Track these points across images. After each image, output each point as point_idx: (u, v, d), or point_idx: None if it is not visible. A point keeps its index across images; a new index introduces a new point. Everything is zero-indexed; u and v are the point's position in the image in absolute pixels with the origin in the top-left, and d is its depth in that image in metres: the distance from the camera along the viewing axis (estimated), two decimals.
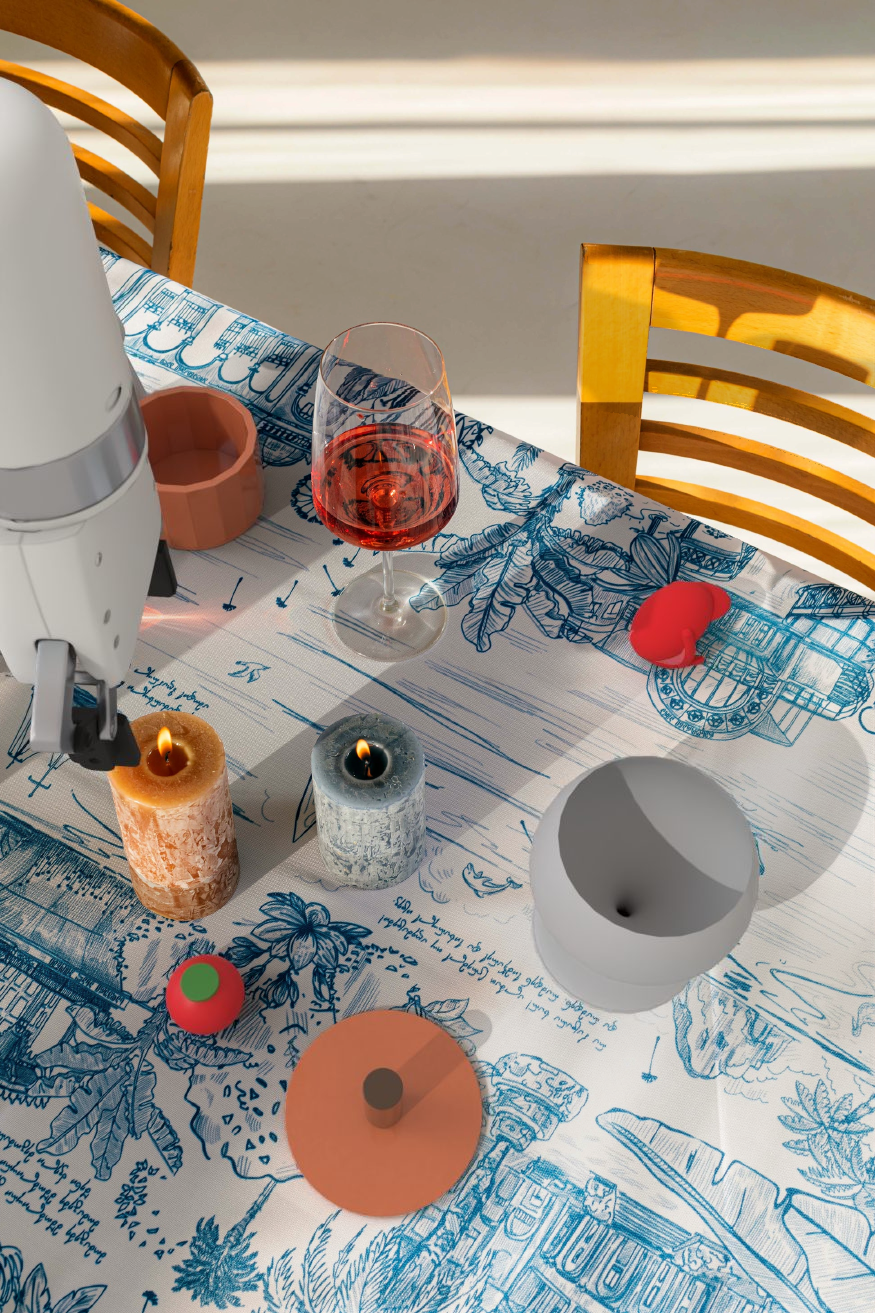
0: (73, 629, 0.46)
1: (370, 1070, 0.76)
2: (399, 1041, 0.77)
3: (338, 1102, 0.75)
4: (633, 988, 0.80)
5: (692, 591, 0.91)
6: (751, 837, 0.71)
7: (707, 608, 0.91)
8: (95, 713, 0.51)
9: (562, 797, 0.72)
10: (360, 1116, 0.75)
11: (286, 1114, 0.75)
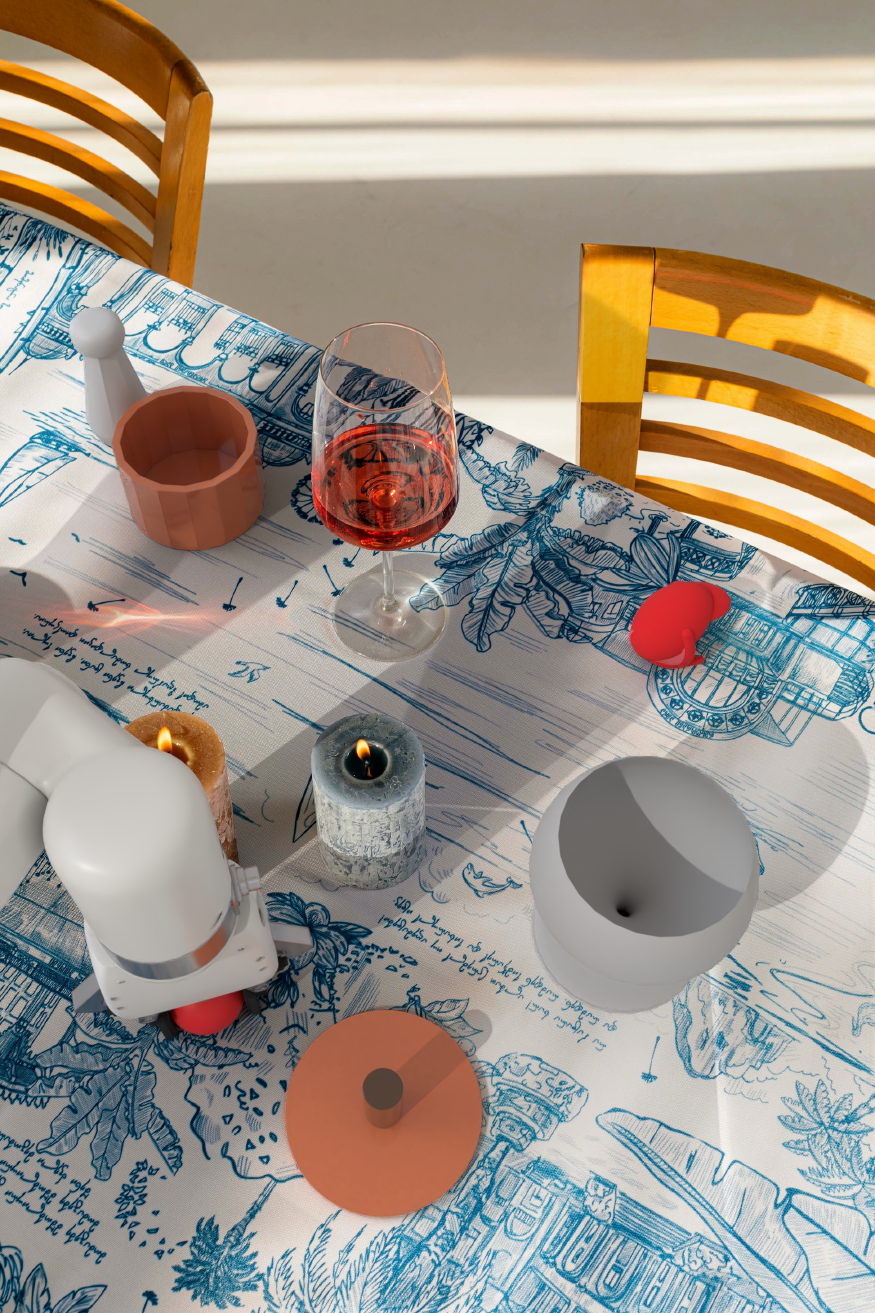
0: None
1: (370, 1070, 0.76)
2: (399, 1041, 0.77)
3: (338, 1102, 0.75)
4: (633, 988, 0.80)
5: (692, 591, 0.91)
6: (751, 837, 0.71)
7: (707, 608, 0.91)
8: None
9: (562, 797, 0.72)
10: (360, 1116, 0.75)
11: (286, 1114, 0.75)
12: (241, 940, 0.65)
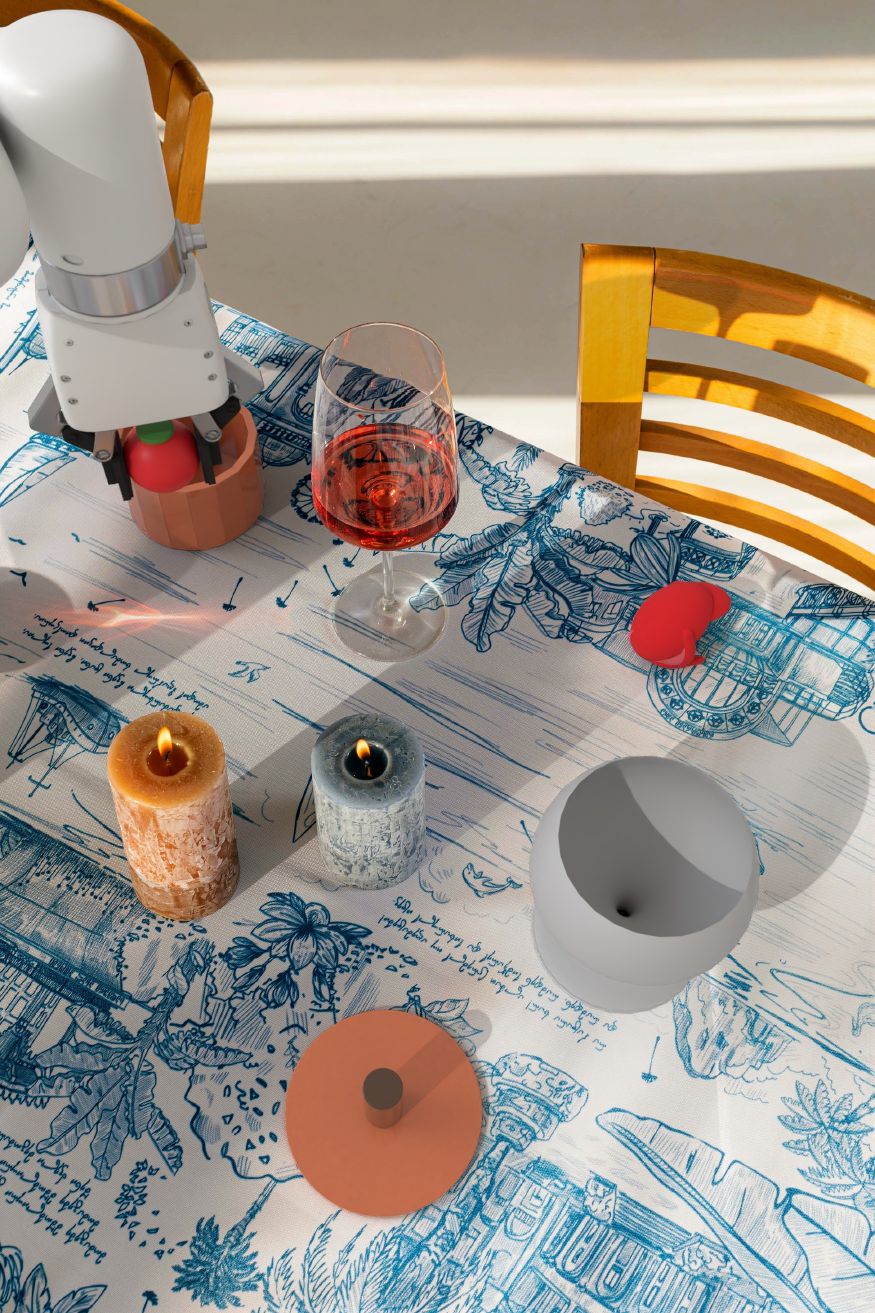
0: (49, 366, 0.69)
1: (370, 1070, 0.76)
2: (399, 1041, 0.77)
3: (338, 1102, 0.75)
4: (633, 988, 0.80)
5: (692, 591, 0.91)
6: (751, 837, 0.71)
7: (707, 608, 0.91)
8: None
9: (562, 797, 0.72)
10: (360, 1116, 0.75)
11: (286, 1114, 0.75)
12: (187, 307, 0.67)
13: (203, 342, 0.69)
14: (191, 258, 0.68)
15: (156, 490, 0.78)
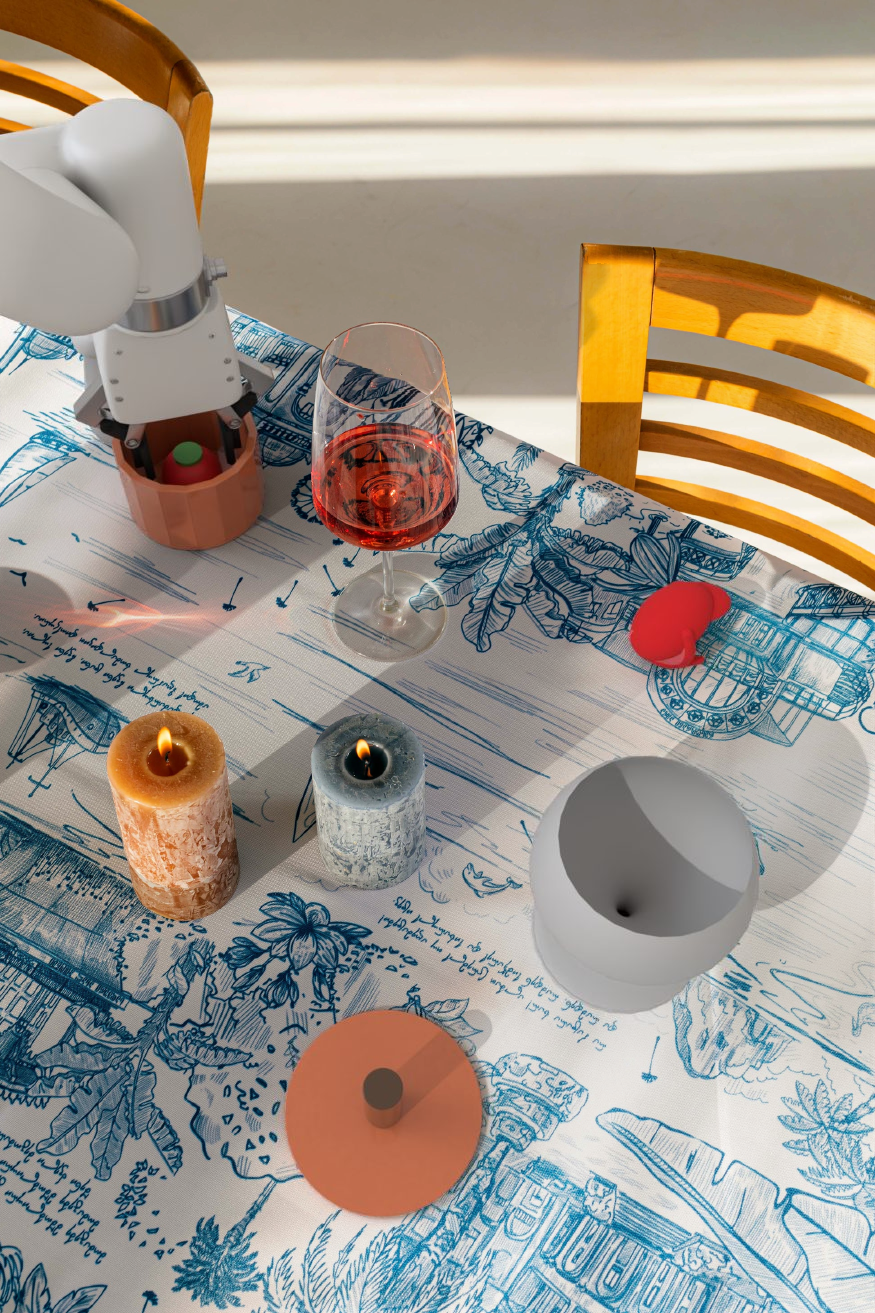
0: (100, 371, 0.87)
1: (370, 1070, 0.76)
2: (399, 1041, 0.77)
3: (338, 1102, 0.75)
4: (633, 988, 0.80)
5: (692, 591, 0.91)
6: (751, 837, 0.71)
7: (707, 608, 0.91)
8: None
9: (562, 797, 0.72)
10: (360, 1116, 0.75)
11: (286, 1114, 0.75)
12: (211, 323, 0.85)
13: (223, 351, 0.87)
14: (214, 284, 0.85)
15: None
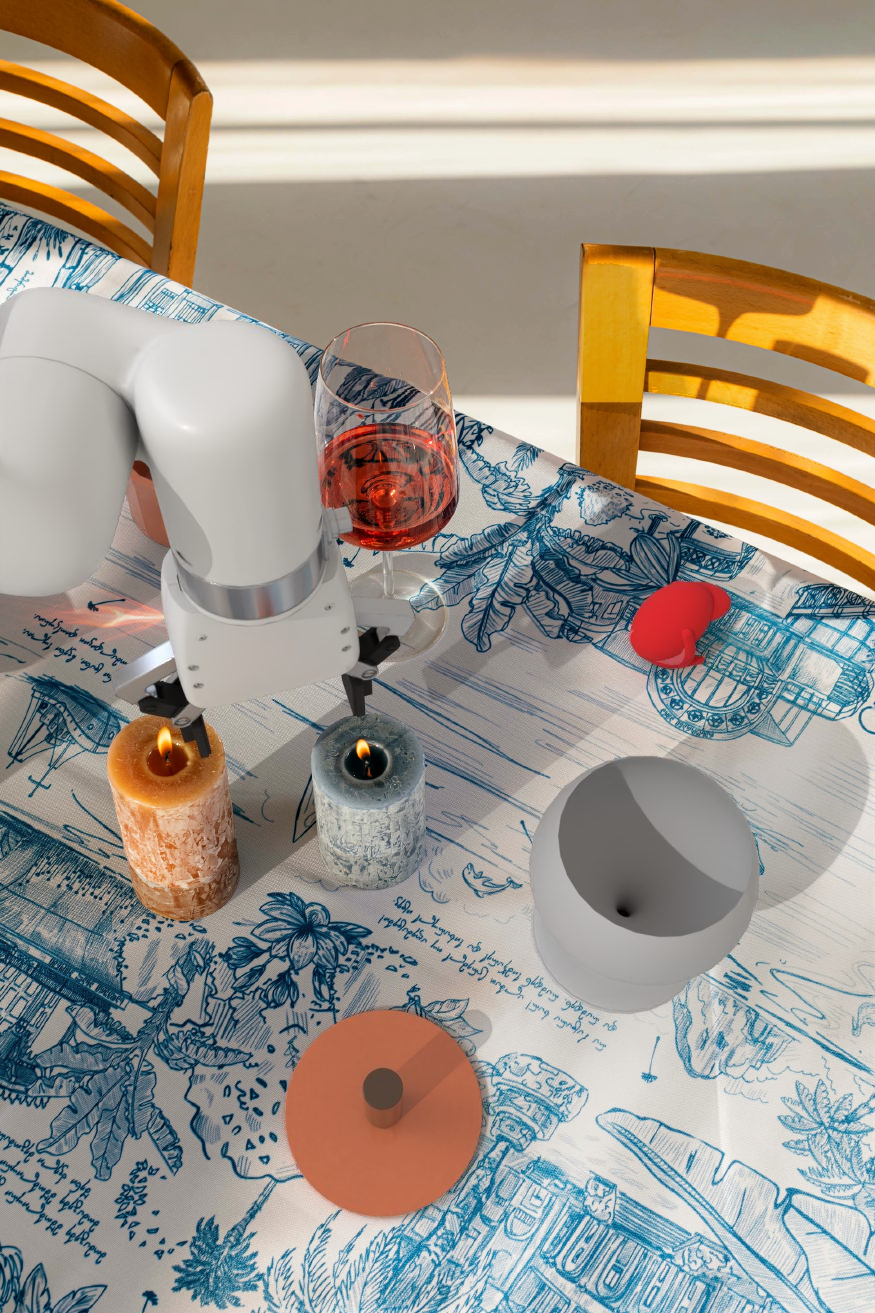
0: (174, 653, 0.63)
1: (370, 1070, 0.76)
2: (399, 1041, 0.77)
3: (338, 1102, 0.75)
4: (633, 988, 0.80)
5: (692, 591, 0.91)
6: (751, 837, 0.71)
7: (707, 608, 0.91)
8: None
9: (562, 797, 0.72)
10: (360, 1116, 0.75)
11: (286, 1114, 0.75)
12: (329, 593, 0.61)
13: (341, 620, 0.64)
14: None
15: None
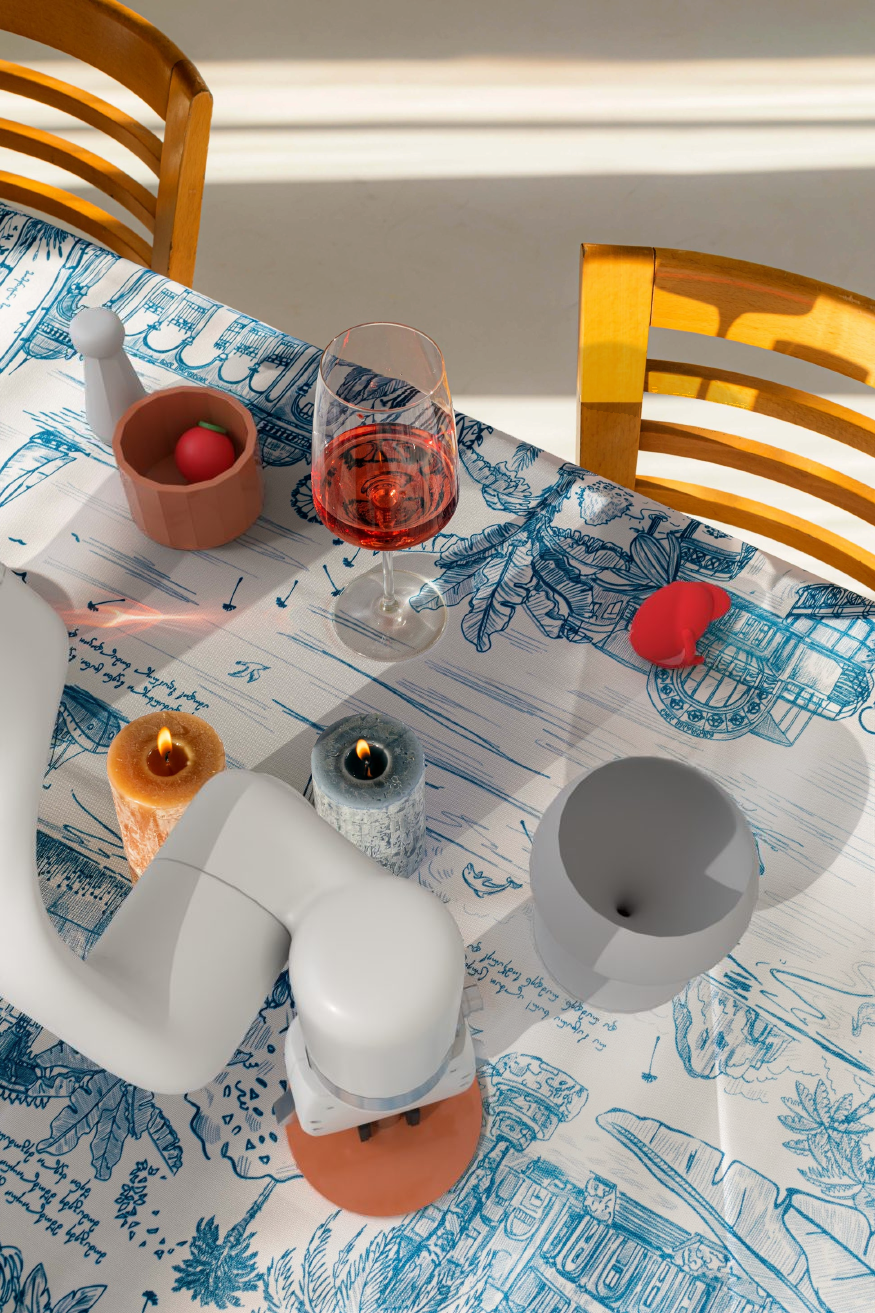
0: (296, 1104, 0.63)
1: None
2: None
3: None
4: (633, 988, 0.80)
5: (692, 591, 0.91)
6: (751, 837, 0.71)
7: (707, 608, 0.91)
8: None
9: (562, 797, 0.72)
10: None
11: None
12: (456, 1063, 0.61)
13: (464, 1073, 0.63)
14: None
15: (199, 466, 0.99)
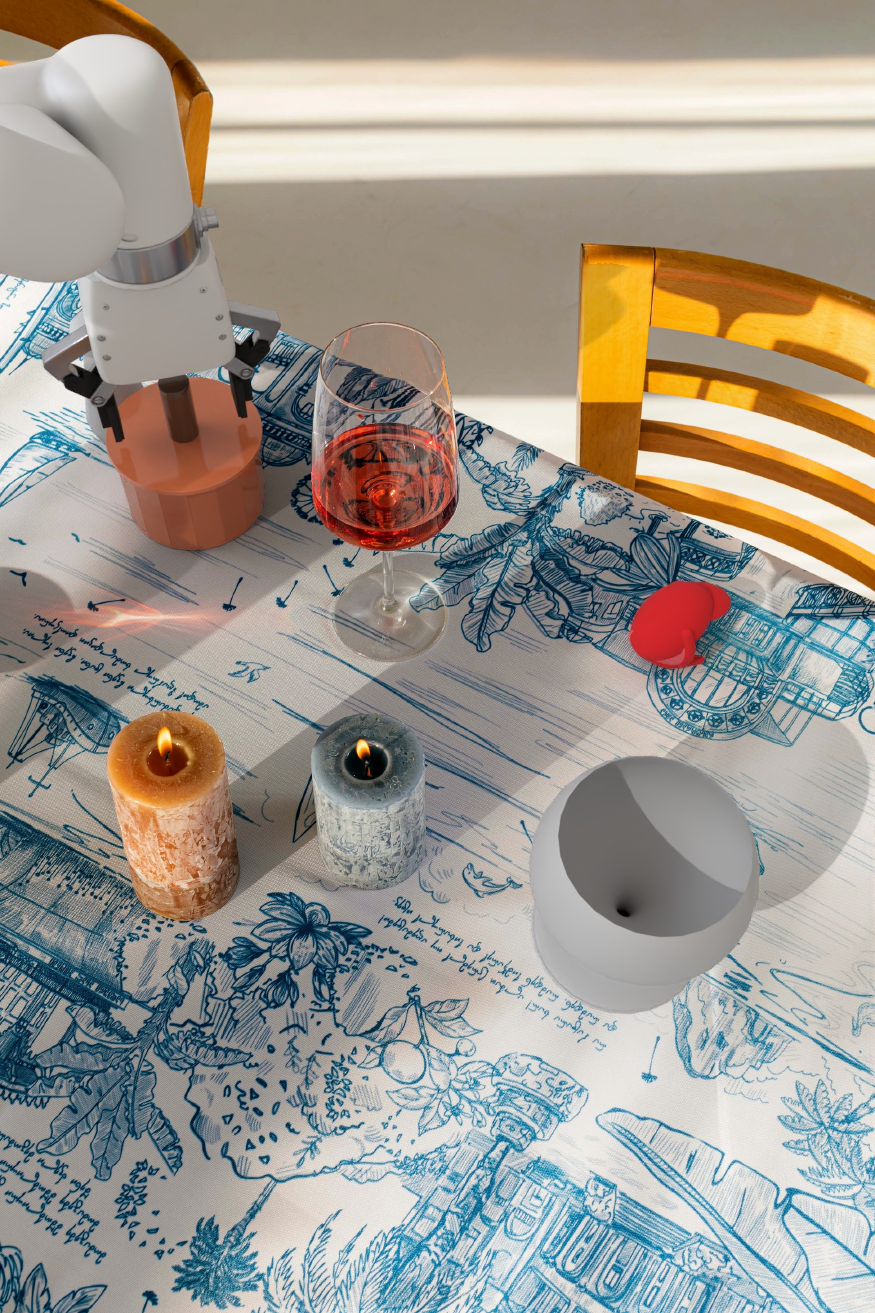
0: (87, 327, 0.83)
1: None
2: (201, 394, 0.98)
3: (148, 427, 0.96)
4: (633, 988, 0.80)
5: (692, 591, 0.91)
6: (751, 837, 0.71)
7: (707, 608, 0.91)
8: None
9: (562, 797, 0.72)
10: (165, 435, 0.95)
11: (107, 433, 0.95)
12: (202, 276, 0.81)
13: (215, 306, 0.84)
14: (205, 236, 0.82)
15: None
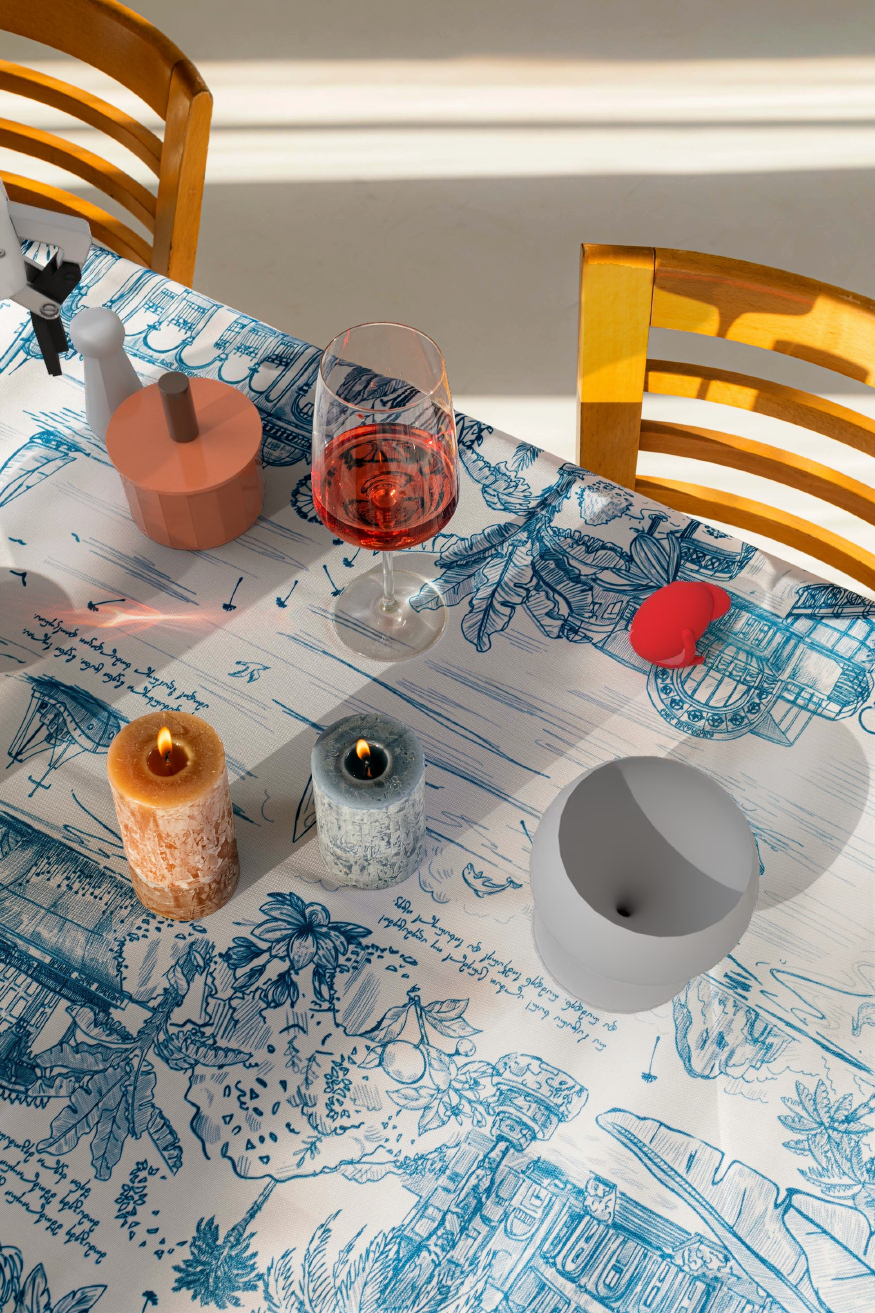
0: None
1: None
2: (201, 394, 0.98)
3: (148, 427, 0.96)
4: (633, 988, 0.80)
5: (692, 591, 0.91)
6: (751, 837, 0.71)
7: (707, 608, 0.91)
8: None
9: (562, 797, 0.72)
10: (165, 435, 0.95)
11: (107, 433, 0.95)
12: None
13: None
14: None
15: None
